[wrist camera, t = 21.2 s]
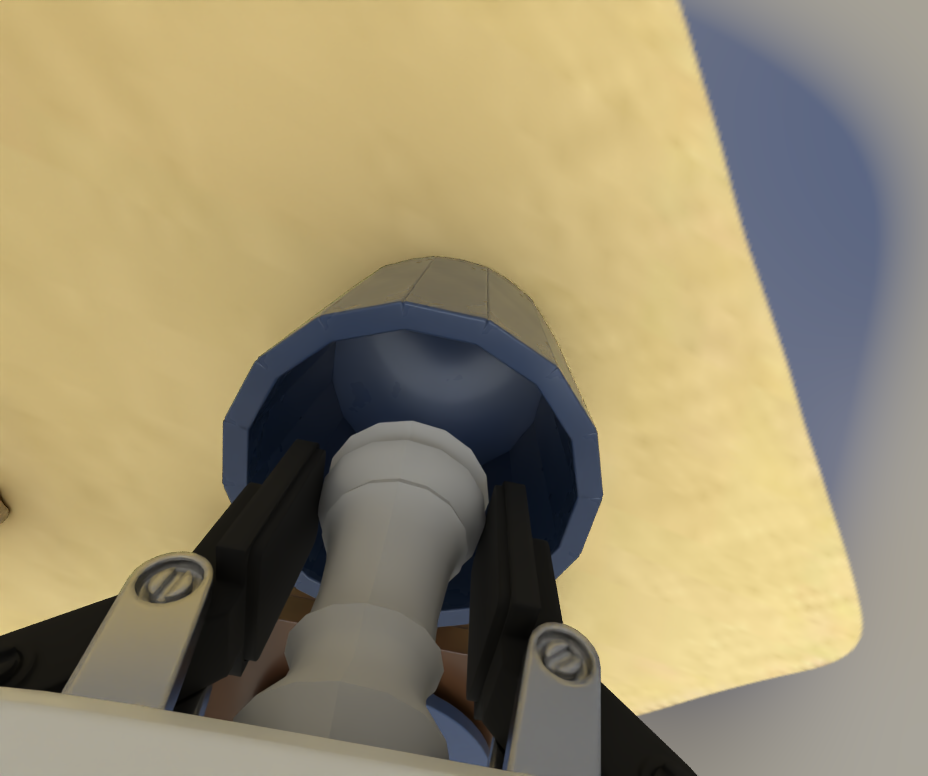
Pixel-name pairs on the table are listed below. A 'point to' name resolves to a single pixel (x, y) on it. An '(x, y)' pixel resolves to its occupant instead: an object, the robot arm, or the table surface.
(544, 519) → the pot
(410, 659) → the rook chess piece
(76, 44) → the table surface
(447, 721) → the lid
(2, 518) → the handle
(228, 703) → the shelf
